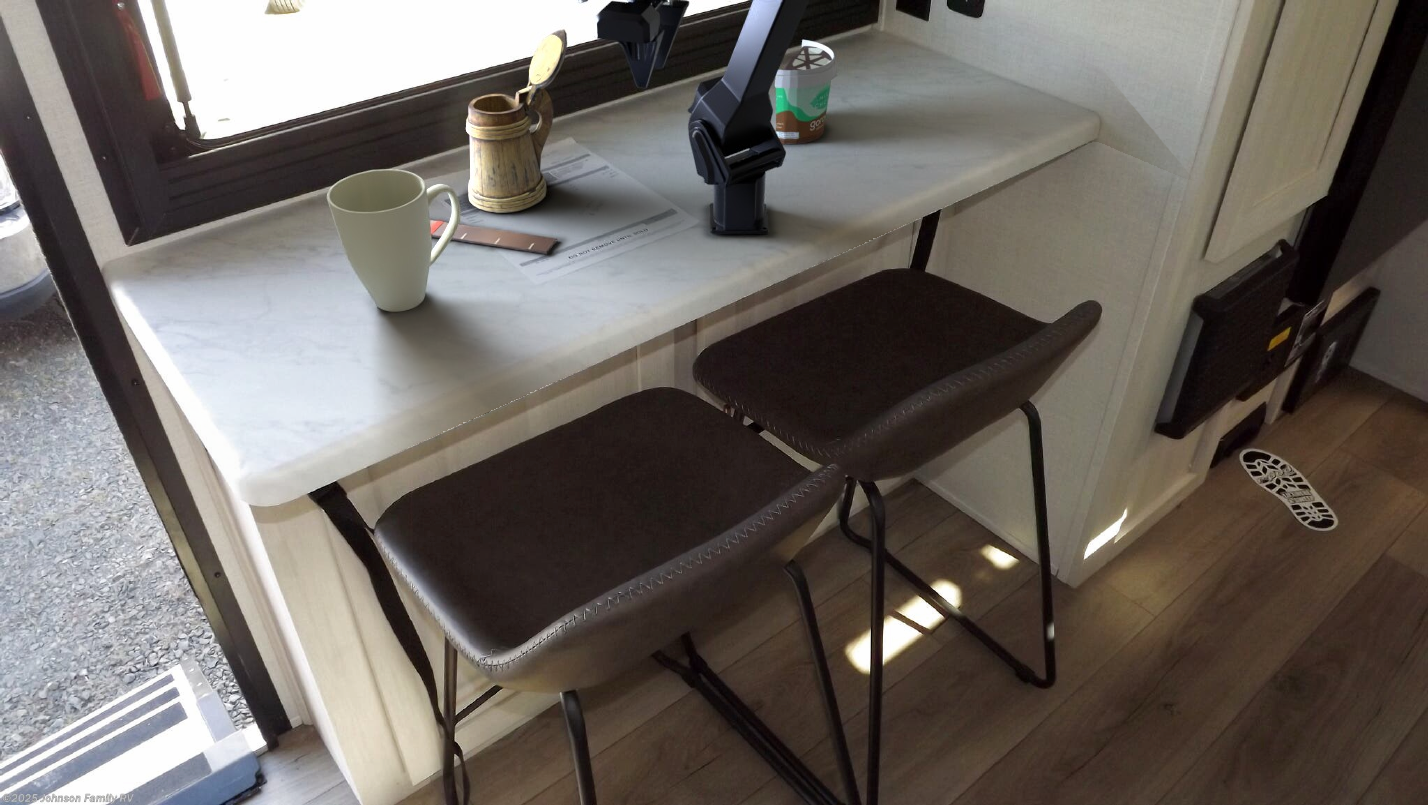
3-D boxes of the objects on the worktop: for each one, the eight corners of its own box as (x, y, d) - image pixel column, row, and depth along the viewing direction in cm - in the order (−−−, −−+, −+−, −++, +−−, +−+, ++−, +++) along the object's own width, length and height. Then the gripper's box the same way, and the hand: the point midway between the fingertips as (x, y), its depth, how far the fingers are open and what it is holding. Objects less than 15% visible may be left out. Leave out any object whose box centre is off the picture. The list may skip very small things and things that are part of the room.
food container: (818, 155, 130) (823, 77, 124) (771, 147, 132) (775, 70, 126) (843, 117, 139) (849, 43, 133) (799, 111, 141) (803, 37, 135)
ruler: (557, 240, 113) (556, 238, 113) (546, 254, 111) (546, 251, 111) (392, 216, 117) (392, 214, 117) (379, 229, 115) (378, 226, 115)
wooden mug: (593, 193, 122) (582, 41, 111) (483, 220, 117) (460, 63, 106) (564, 164, 128) (551, 17, 117) (458, 188, 123) (434, 36, 112)
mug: (434, 329, 100) (412, 218, 92) (338, 318, 101) (309, 208, 94) (474, 270, 108) (457, 165, 101) (385, 261, 110) (361, 156, 102)
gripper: (603, -94, 118) (611, 43, 127) (540, -50, 103) (554, 100, 113) (697, -87, 115) (698, 52, 125) (645, -41, 101) (650, 112, 111)
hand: (650, 77), depth 119 cm, fingers open, 6 cm apart
